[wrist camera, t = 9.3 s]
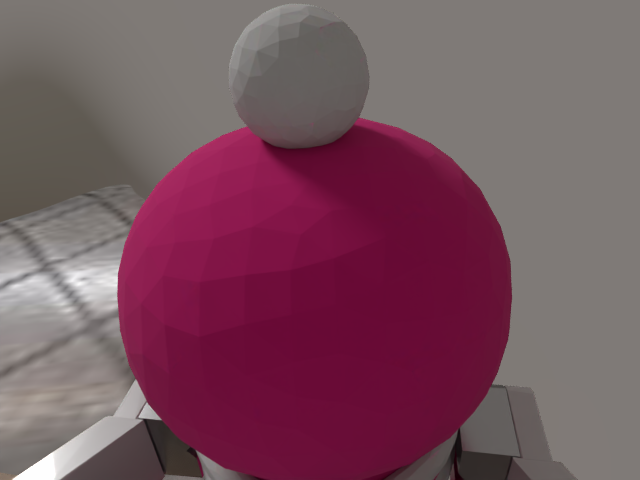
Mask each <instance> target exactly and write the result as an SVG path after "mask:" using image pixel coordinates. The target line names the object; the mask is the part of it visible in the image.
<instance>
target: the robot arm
mask: <svg viewBox="0 0 640 480" xmlns="http://www.w3.org/2000/svg"><path fill="white" fill-rule="evenodd" d="M164 474H167V475H178V476H190V477H201V478H203V475H204V474H203V470H202V465H201V462H200V459H199V457H198V455H197V452H196V450H195V449H193V448H192V447H190V446H189V445H187V444H186V443H184V442H183V441H181V440H180V439H179V438H178V437H177V436H176V435H175V434H174V433H173V432H172V431H171V430H170V429H169V427H168V426H167V425H166V424H165V423H164V422H163V421H162V419H161V418H160V417H159V416H158V415H157V414H156V413H155V411H154V410H153V409H152V408H151V407H150V406H149V405H148V403H147V401H146V399H145V397H144V394H143V392H142V390H141V388H140V386H139V384H138V382H137V380H135V381H134V383H133V385H132V386H131V388H130V390H129V391H128V393H127V394H126V396H125V398H124V399H123V401H122V403H121V404H120V406H119V408H118V409H117V411H116V413H115V414H114V416H106V417H105V418H103V419H102V420H100V421H99V422H97V423H96V424H94V425H93V426H91V427H90V428H88V429H87V430H85V431H84V432H82V433H81V434H79V435H78V436H76V437H75V438H73V439H72V440H70V441H69V442H67V443H66V444H64V445H63V446H62V447H60V448H59V449H57V450H56V451H54V452H53V453H51V454H50V455H48V456H47V457H45V458H44V459H42V460H41V461H39V462H38V463H36V464H35V465H33V466H32V467H30V468H29V469H27V470H26V471H24V472H23V473H21V474H20V475H18V476H17V477H16V478H14V479H13V480H162V479H163V478H164V477H165V475H164ZM450 480H578V479H577V478H576V477H575V476H574V475H573V474H572V473H571V472H570V471H569V470H568V469H567V468H566V467H565V466H564V465H563V464H562V463H561V462H555V461H553V460H552V456H551V453H550V449H549V446H548V442H547V438H546V435H545V432H544V427H543V424H542V420H541V416H540V413H539V409H538V406H537V402H536V398H535V395H534V392H533V390H532V389H531V388H528V387H515V386H503V385H491V387H490V389H489V391H488V393H487V395H486V397H485V398H484V399H483V401H482V402H481V403H480V405H479V406H478V407H477V409H476V410H475V412H474V413H473V414H472V415H471V416H470V417H469V418H468V419H467V420H466V421H465V423H464V424H463V425H462V426H461V427H460V428H459V429H458V433H457V438H456V441H455V458H454V463H453V466H452V470H451V473H450Z"/></svg>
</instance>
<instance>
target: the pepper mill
mask: <svg viewBox="0 0 640 480" xmlns="http://www.w3.org/2000/svg"><path fill="white" fill-rule="evenodd" d="M229 89H230V92H231V96H232V99H233V102H234V105H235V108H236V110H237V112H238V114H239V116H240V118H241V119H242V120H243V121H244V123H245V124H246V125H247V126H248V127H245V128H241V129H239V130H236V131H233V132H230V133H228V134H225V135H222V136H220V137H219V138H217V139H215V140H213V141H211V142H209V143H207V144H206V145H204V146H202V147H200V148H199V149H197V150H195V151H194V152H192V153H191V154H190V155H188V156H187V157H186V158H185V159H184V160H183V161H182V162H180V163H179V164H178V165H177V166H176V167H175V168H173V169H172V170H171V171H170V172H169V173H168V174H167V175H166V176H165V177H164V178H163V179H162V180H161V181H160V182H159V183H158V184H157V185H156V187H155V188H154V190H153V191H152V193H151V194H150V195H149V197H148V198H147V200H146V201H145V202H144V204H143V205H142V207H141V209H140V210H139V212H138V214H137V216H136V217H135V220H134V222H133V225H132V227H131V230H130V232H129V235H128V237H127V240H126V242H125V245H124V250H123V254H122V258H121V263H120V267H119V272H118V293H117V297H118V309H119V321H120V332H121V335H122V339H123V343H124V347H125V351H126V355H127V358H128V362H129V366H130V368H131V370H132V372H133V374H134V376H135V378H136V380H137V382H138V384H139V386H140V388H141V390H142V392H143V394H144V397H145V399H146V401H147V403H148V405H149V406H150V407H151V408H152V409H153V410H154V411H155V413H156V414H157V415H158V416H159V417H160V418H161V419H162V421H163V422H164V423H165V424H166V425H167V426H168V427H169V429H170V430H171V431H172V432H173V433H174V434H175V435H176V436H177V437H178V438H179V439H180V440H181V441H183V442H184V443H186V444H187V445H189V446H190V447H192V448H193V449H195V450H196V452H197V455H198V457H199V459H200V462H201V465H202V470H203V474H204V478H205V480H448V479H449V476H450V473H451V470H452V466H453V463H454V458H455V441H456V438H457V433H458V429H459V428H460V427H461V426H462V425H463V424H464V423H465V421H466V420H467V419H468V418H469V417H470V416H471V415H472V414H473V413H474V412H475V410H476V409H477V407H478V406H479V405H480V403H481V402H482V401H483V399H484V398H485V397H486V395H487V393H488V391H489V389H490V387H491V385H492V383H493V381H494V379H495V377H496V375H497V373H498V370H499V366H500V363H501V360H502V357H503V354H504V351H505V348H506V344H507V341H508V336H509V328H510V314H511V302H512V287H511V264H510V258H509V254H508V251H507V247H506V244H505V240H504V237H503V233H502V230H501V226H500V224H499V223H498V221H497V219H496V217H495V215H494V214H493V212H492V210H491V208H490V206H489V204H488V203H487V201H486V199H485V197H484V195H483V194H482V192H481V190H480V188H479V187H478V186H477V185H476V184H475V183H474V182H473V181H472V180H471V179H470V178H469V177H468V175H467V174H466V173H465V172H464V171H463V170H462V169H461V168H460V167H459V166H458V165H457V164H456V163H455V162H454V161H453V159H452V158H450V157H449V156H448V155H446V154H445V153H443V152H442V151H441V150H439V149H438V148H436V147H435V146H434V145H432V144H431V143H429V142H427V141H425V140H423V139H421V138H419V137H417V136H415V135H413V134H410V133H408V132H406V131H404V130H402V129H400V128H397V127H393V126H389V125H386V124H382V123H378V122H374V121H370V120H366V119H362V118H359V116H360V113H361V111H362V109H363V105H364V102H365V99H366V96H367V93H368V89H369V72H368V65H367V59H366V55H365V52H364V50H363V48H362V46H361V44H360V42H359V40H358V38H357V36H356V35H355V34H354V33H353V31H352V30H351V29H350V28H349V27H348V26H347V24H346V23H344V22H343V21H342V20H341V19H339V18H338V17H337V16H336V15H335V14H334V13H332V12H329V11H327V10H325V9H323V8H320V7H316V6H312V5H308V4H287V5H283V6H279V7H276V8H273V9H271V10H268V11H267V12H265V13H263V14H262V15H260V16H259V17H257V18H256V19H255V20H254V21H253V22H252V23H250V24H249V25H248V26H247V27H246V28H245V29H244V31H243V33H242V34H241V36H240V38H239V39H238V41H237V43H236V45H235V47H234V50H233V54H232V57H231V61H230V64H229Z"/></svg>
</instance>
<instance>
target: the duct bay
mask: <svg viewBox="0 0 640 480" xmlns="http://www.w3.org/2000/svg"><path fill="white" fill-rule="evenodd" d="M16 477H17V475H11V474H5V473H0V480H13V479H14V478H16Z"/></svg>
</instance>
